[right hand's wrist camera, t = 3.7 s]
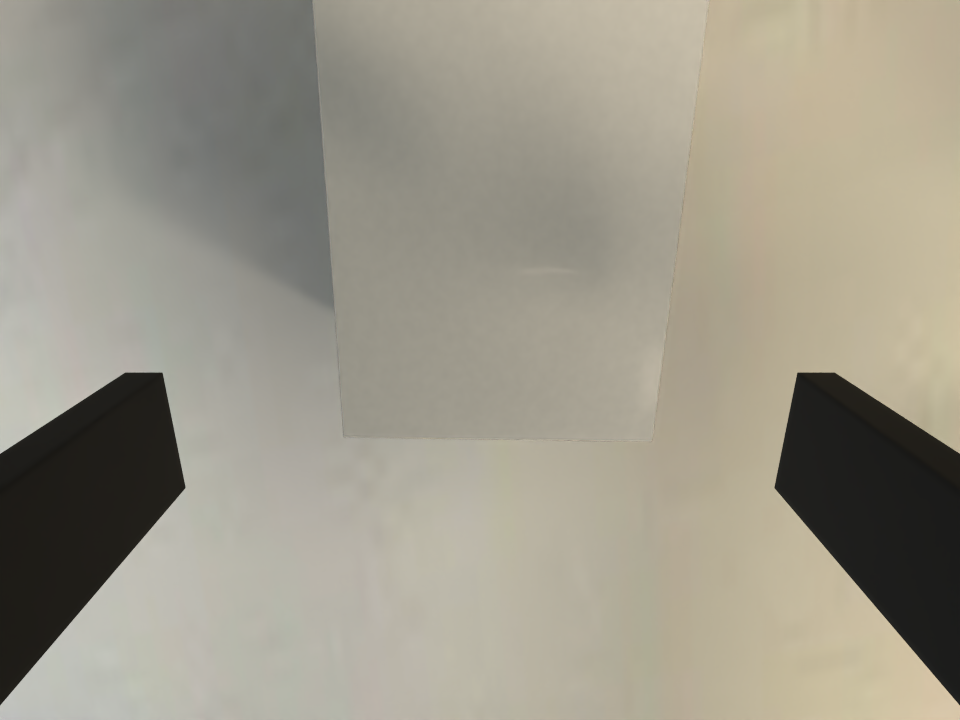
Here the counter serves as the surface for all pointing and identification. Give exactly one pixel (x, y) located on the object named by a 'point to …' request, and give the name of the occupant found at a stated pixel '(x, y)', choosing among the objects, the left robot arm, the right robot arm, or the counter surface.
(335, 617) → the counter surface
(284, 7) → the counter surface
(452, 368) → the cabinet
